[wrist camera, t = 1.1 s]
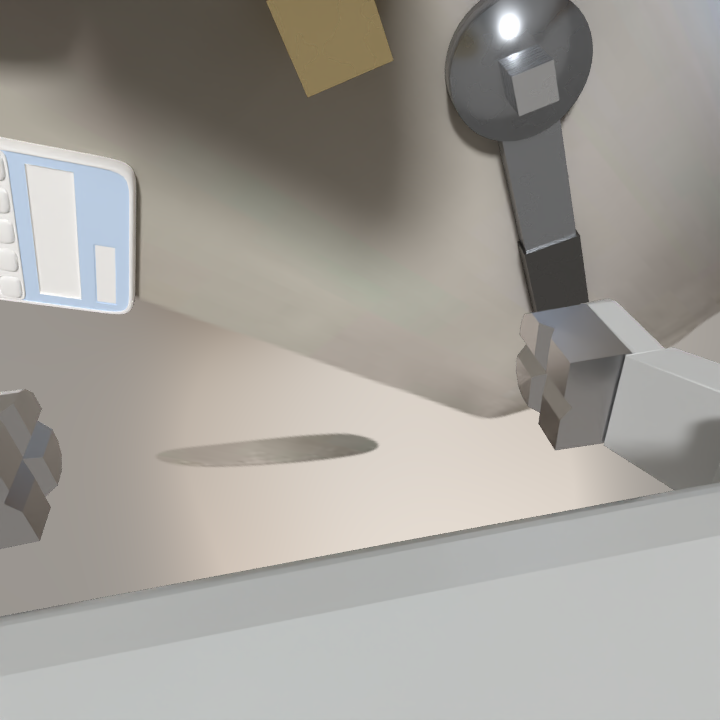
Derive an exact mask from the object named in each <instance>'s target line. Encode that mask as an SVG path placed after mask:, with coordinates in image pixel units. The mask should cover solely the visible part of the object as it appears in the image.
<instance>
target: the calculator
mask: <svg viewBox="0 0 720 720" xmlns="http://www.w3.org/2000/svg"><path fill="white" fill-rule="evenodd" d="M135 265H136V178H135V173H134V171H133V169H132V168H131V166H129V165H128V164H126V163H125V162H122V161H119V160H116V159H112V158H108V157H103V156H98V155H93V154H88V153H82V152H77V151H72V150H67V149H61V148H56V147H51V146H45V145H40V144H35V143H30V142H24V141H19V140H14V139H8V138H3V137H0V300H5V301H13V302H21V303H28V304H36V305H43V306H51V307H59V308H67V309H74V310H83V311H90V312H98V313H107V314H126V313H128V312H129V311H130V310H131V309H132V308H133V305H134V301H135Z"/></svg>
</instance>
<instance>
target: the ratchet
mask: <svg viewBox="0 0 720 720" xmlns="http://www.w3.org/2000/svg"><path fill="white" fill-rule="evenodd" d="M592 54H593V45H592V37H591V32H590V29H589V26H588V23H587V21H586V19H585V17H584V15H583V14H582V13H581V11H580V10H579V8H578V7H577V6H576V5H575V4H573V3H572V2H571V1H570V0H480V1H479V2H478V3H477V4H476V5H475V6H473V7H472V9H471V10H470V11H469V12H468V13H467V14H466V15H465V17H464V18H463V19H462V21H461V22H460V24H459V25H458V27H457V29H456V31H455V32H454V35H453V37H452V39H451V42H450V45H449V48H448V51H447V56H446V62H445V80H446V86H447V90H448V93H449V96H450V98H451V100H452V102H453V104H454V106H455V108H456V110H457V112H458V113H459V115H460V117H461V118H462V120H463V121H464V122H465V123H466V124H467V125H468V127H469V128H471V129H472V130H473V131H475V132H476V133H477V134H479V135H481V136H483V137H486V138H489V139H492V140H497V141H498V143H499V148H500V152H501V157H502V161H503V166H504V170H505V175H506V179H507V184H508V189H509V193H510V198H511V202H512V207H513V211H514V216H515V220H516V225H517V229H518V234H519V238H520V241H519V242H518V246H519V250H520V254H521V259H522V263H523V268H524V272H525V277H526V281H527V286H528V290H529V295H530V299H531V304H532V308H533V312H538V311H544V310H550V309H556V308H562V307H568V306H574V305H580V304H582V303H587V302H589V301H588V293H587V286H586V278H585V271H584V263H583V256H582V249H581V241H580V235H579V234H578V232H577V231H576V229H575V222H574V215H573V208H572V201H571V194H570V187H569V179H568V172H567V165H566V158H565V151H564V144H563V137H562V129H561V122H560V119H561V118H562V117H563V116H564V115H565V114H566V113H567V112H568V111H569V109H570V108H571V107H572V106H573V104H574V103H575V102H576V100H577V99H578V97H579V95H580V94H581V92H582V90H583V88H584V86H585V83H586V81H587V78H588V75H589V72H590V68H591V63H592Z"/></svg>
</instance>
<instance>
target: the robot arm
mask: <svg viewBox="0 0 720 720" xmlns="http://www.w3.org/2000/svg"><path fill="white" fill-rule="evenodd" d="M520 336H521V337H522V339H523V340H524V342H525V343H526V345H525V347H524V348H523V349H522V350H521V352H520V353H519V354H518V355H517V366H516V374H517V380H518V387H519V389H520V392H521V395H522V397H523V399H524V401H525V402H526V404H527V406H528V407H530V408H532V409H534V410H536V411H538V412H540V416H539V425H540V427H541V428H542V430H543V432H544V433H545V435H546V436H547V438H548V440H549V441H550V443H551V444H552V446H553V447H554V449H555V450H560V449H567V448H573V447H580V446H587V445H594V444H600V443H604V446H606V447H607V448H609V449H610V450H612V451H613V452H615V453H617V454H618V455H620V456H621V457H623V458H624V459H626V460H628V461H629V462H631V463H632V464H634V465H636V466H637V467H639V468H640V469H642V470H643V471H645V472H646V473H648V474H650V475H651V476H653V477H654V478H656V479H657V480H659V481H661V482H662V483H664V484H665V485H667V486H668V487H670V488H672V489H673V490H674V491H669V492H664V493H658V494H653V495H648V496H643V497H638V498H632V499H627V500H622V501H617V502H611V503H606V504H601V505H596V506H591V507H585V508H580V509H575V510H569V511H564V512H558V513H552V514H547V515H542V516H536V517H531V518H526V519H520V520H515V521H509V522H505V523H498V524H493V525H487V526H482V527H477V528H471V529H466V530H460V531H455V532H450V533H444V534H439V535H433V536H428V537H423V538H417V539H412V540H406V541H401V542H395V543H390V544H385V545H379V546H374V547H369V548H363V549H359V550H353V551H347V552H342V553H337V554H332V555H326V556H321V557H316V558H310V559H305V560H300V561H294V562H289V563H283V564H278V565H273V566H267V567H262V568H257V569H252V570H246V571H241V572H235V573H230V574H225V575H220V576H214V577H209V578H203V579H199V580H193V581H187V582H182V583H177V584H171V585H166V586H161V587H156V588H151V589H145V590H140V591H134V592H128V593H124V594H118V595H112V596H107V597H102V598H96V599H91V600H86V601H81V602H75V603H70V604H64V605H59V606H54V607H48V608H43V609H37V610H32V611H27V612H21V613H17V614H11V615H5V616H1V617H0V720H720V363H717V362H714V361H712V360H709V359H706V358H703V357H700V356H697V355H694V354H691V353H689V352H686V351H683V350H680V349H677V348H675V347H672V348H664V347H663V346H662V345H661V344H660V343H659V342H658V341H657V340H656V339H655V338H653V337H652V336H651V335H650V334H649V333H648V332H647V331H646V330H645V329H644V328H643V327H642V326H641V325H640V324H639V323H638V322H637V321H636V320H635V319H634V318H633V317H632V316H631V315H630V314H629V313H628V312H627V311H626V310H625V309H623V308H622V307H621V306H620V305H619V304H618V303H617V302H616V301H614V300H611V299H603V300H598V301H593V302H587V303H582V304H580V305H574V306H568V307H562V308H556V309H550V310H544V311H538V312H532V313H526V314H524V316H523V319H522V321H521V327H520ZM41 410H42V408H41V406H40V404H39V403H38V401H37V399H36V397H35V395H34V394H33V393H32V392H30V391H28V390H26V389H22V390H13V391H6V392H0V549H1V548H7V547H12V546H17V545H22V544H27V543H32V542H36V541H40V539H41V536H42V533H43V529H44V526H45V523H46V520H47V517H48V514H49V511H50V508H51V507H50V505H49V503H48V501H47V499H46V498H45V497H46V496H47V495H48V494H49V493H50V492H51V491H52V490H53V489H54V488H55V487H56V486H58V482H59V479H60V475H61V472H62V460H61V459H62V458H61V457H62V454H61V450H60V447H59V443H58V440H57V438H56V436H55V434H54V432H53V430H52V429H51V428H49V427H47V426H46V425H44V424H42V423H40V422H39V421H37V420H38V418H39V415H40V412H41Z"/></svg>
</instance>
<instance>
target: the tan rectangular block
mask: <svg viewBox="0 0 720 720" xmlns="http://www.w3.org/2000/svg"><path fill="white" fill-rule="evenodd" d="M266 3H267V5H268V7H269V9H270V12H271V14H272V16H273V19H274V21H275V23H276V26H277V28H278V30H279V33H280V35H281V37H282V40H283V42H284V44H285V46H286V49H287V51H288V53H289V56H290V58H291V60H292V63H293V65H294V67H295V70H296V72H297V74H298V77H299V79H300V81H301V83H302V86H303V88H304V90H305V93H306V95H307V97H310V96H313V95H315V94H317V93H320V92H322V91H324V90H326V89H329V88H331V87H333V86H336V85H338V84H340V83H343V82H345V81H347V80H350V79H352V78H354V77H357V76H359V75H361V74H363V73H366V72H368V71H370V70H373V69H375V68H377V67H380V66H382V65H384V64H387V63H389V62H391V61H394V60H393V57H392V54H391V51H390V48H389V45H388V41H387V38H386V35H385V32H384V29H383V26H382V23H381V19H380V16H379V13H378V10H377V7H376V4H375V1H374V0H266Z"/></svg>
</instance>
